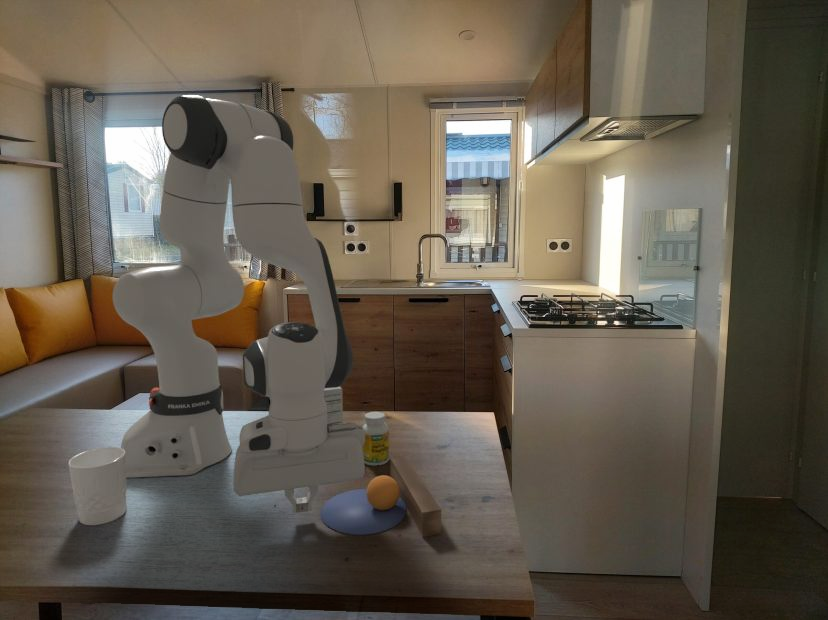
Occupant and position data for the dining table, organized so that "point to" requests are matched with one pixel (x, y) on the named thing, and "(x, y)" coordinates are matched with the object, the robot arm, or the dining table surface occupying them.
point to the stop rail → (416, 497)
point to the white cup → (99, 484)
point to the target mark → (360, 514)
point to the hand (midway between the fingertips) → (301, 510)
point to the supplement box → (334, 405)
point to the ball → (383, 492)
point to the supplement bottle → (376, 439)
